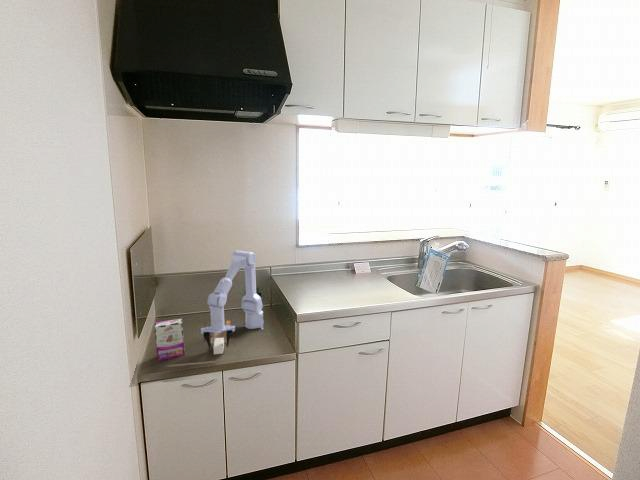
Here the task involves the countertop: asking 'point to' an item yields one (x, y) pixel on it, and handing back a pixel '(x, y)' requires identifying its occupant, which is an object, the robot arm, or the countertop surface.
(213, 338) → the brown stand with pegs
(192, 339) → the countertop surface
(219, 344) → the white block
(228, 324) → the gray and orange bar
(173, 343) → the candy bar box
